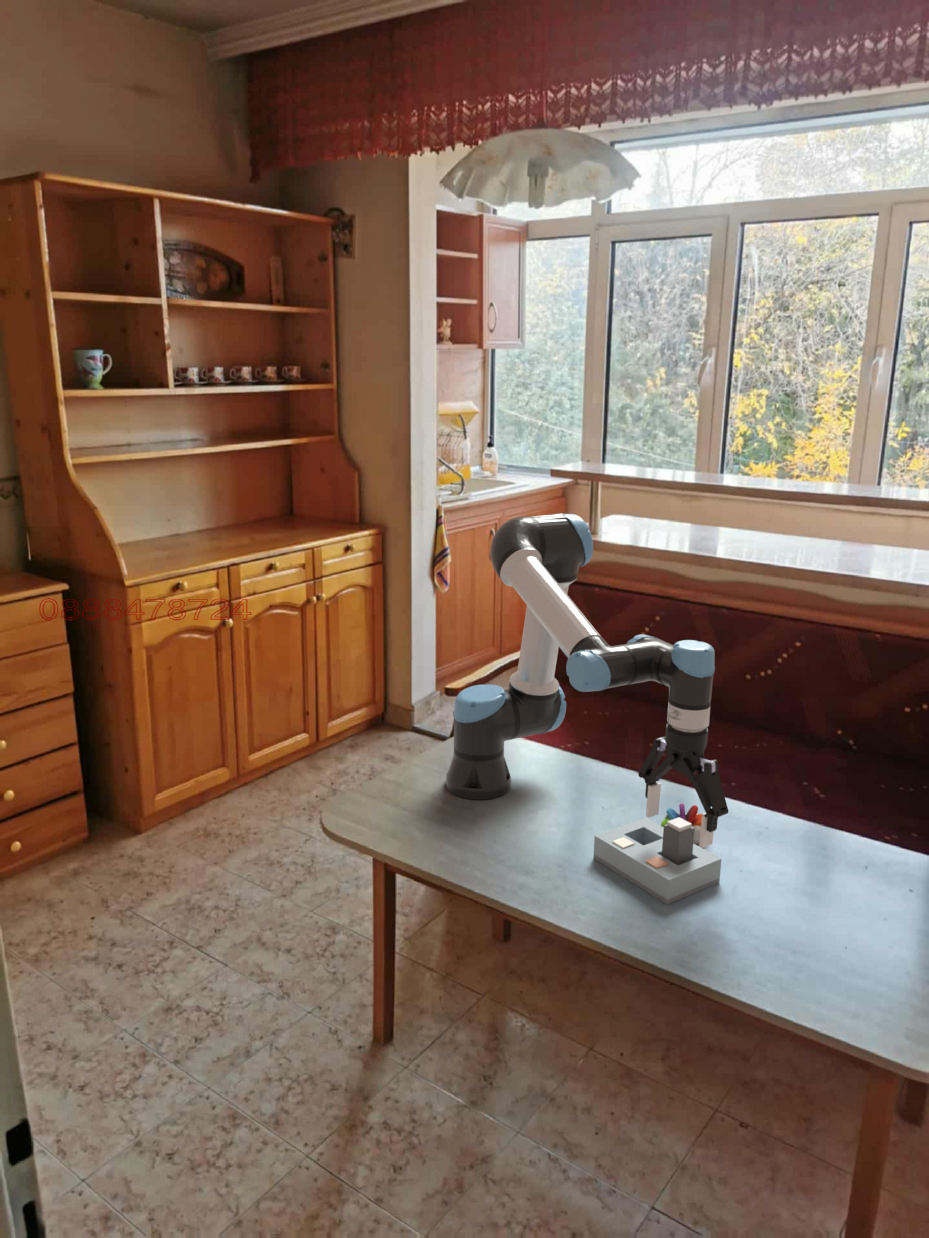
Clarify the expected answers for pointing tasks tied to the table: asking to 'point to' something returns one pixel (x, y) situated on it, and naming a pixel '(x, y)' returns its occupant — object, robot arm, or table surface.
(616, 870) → the socket box
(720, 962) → the table surface
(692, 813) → the rainbow petal fan toy
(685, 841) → the plug
